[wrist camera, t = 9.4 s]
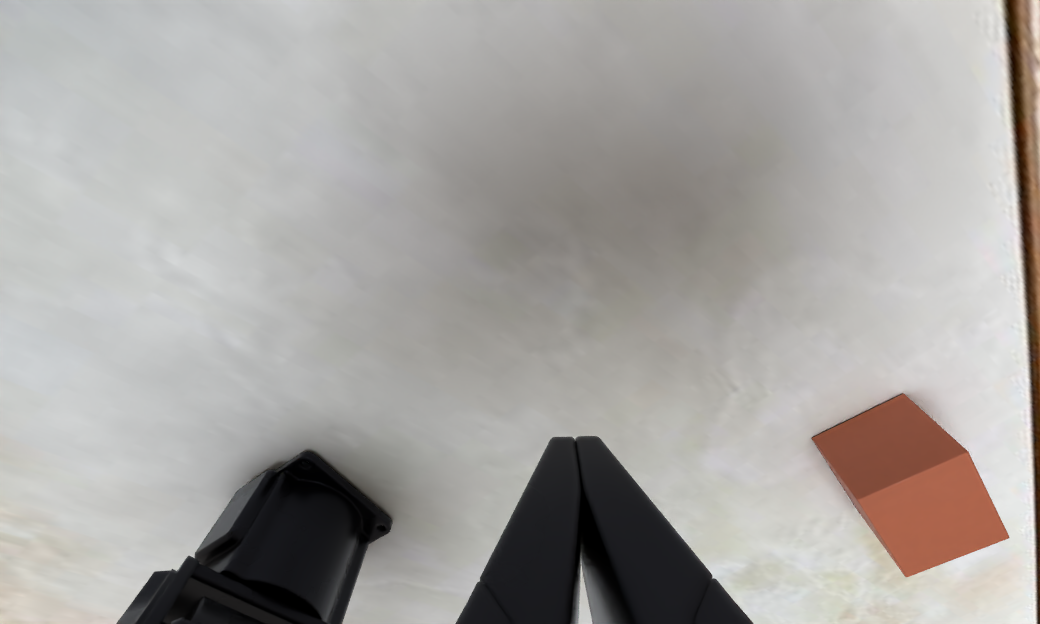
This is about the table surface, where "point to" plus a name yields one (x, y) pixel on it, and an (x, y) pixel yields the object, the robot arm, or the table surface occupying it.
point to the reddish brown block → (912, 485)
